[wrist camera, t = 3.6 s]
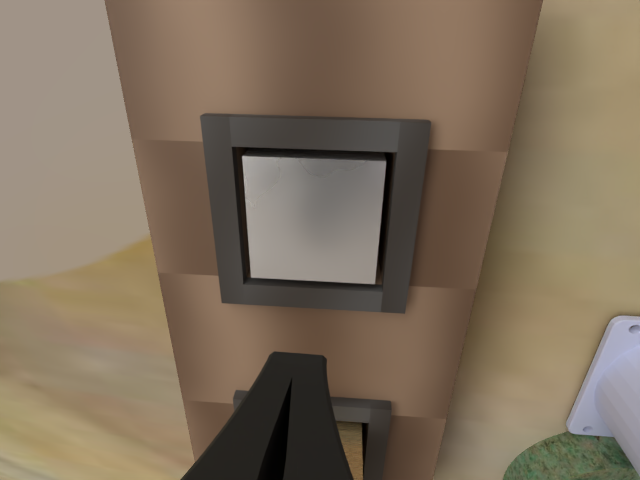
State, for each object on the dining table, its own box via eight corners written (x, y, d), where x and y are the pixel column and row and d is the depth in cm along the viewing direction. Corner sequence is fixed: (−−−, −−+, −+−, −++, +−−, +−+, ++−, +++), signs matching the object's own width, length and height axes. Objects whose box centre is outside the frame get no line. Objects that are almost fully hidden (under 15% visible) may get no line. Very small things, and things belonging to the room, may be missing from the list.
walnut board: (497, -5, 14) (555, -21, 10) (410, 469, 26) (420, 548, 22) (161, -9, 15) (89, -25, 11) (225, 454, 27) (203, 528, 23)
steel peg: (378, 132, 16) (386, 161, 12) (370, 233, 18) (374, 284, 14) (267, 128, 16) (242, 156, 13) (271, 228, 18) (250, 277, 15)
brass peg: (361, 396, 19) (363, 482, 16) (355, 457, 21) (356, 546, 18) (268, 389, 20) (248, 473, 16) (271, 450, 22) (254, 537, 18)
